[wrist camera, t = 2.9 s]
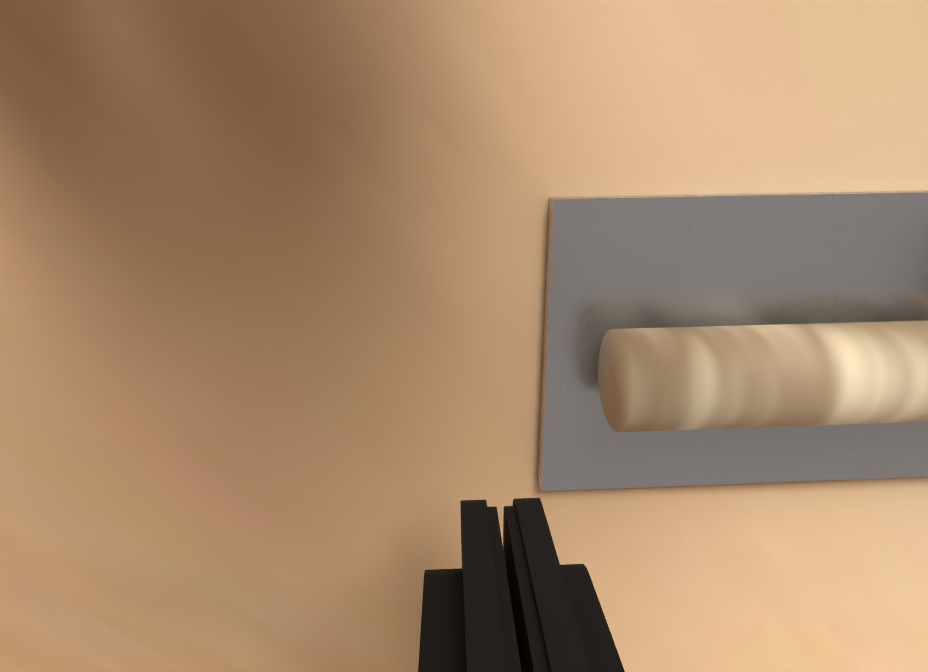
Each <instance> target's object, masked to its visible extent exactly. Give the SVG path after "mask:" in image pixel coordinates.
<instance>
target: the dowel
mask: <svg viewBox="0 0 928 672" xmlns="http://www.w3.org/2000/svg"><path fill="white" fill-rule="evenodd" d="M598 386H599V394H600V400H601V404H602V408H603V412H604V415H605V417H606V420H607V422H608V424H609V425H610V427H611V428H612V429H613V430H614V431H616V432H640V431H669V430H698V429H728V428H757V427H787V426H816V425H846V424H875V423H905V422H928V320H927V321H890V322H853V323H816V324H779V325H742V326H704V327H667V328H630V329H610V330H609V331H607V333H606V334H605V336H604V338H603V340H602V343H601V347H600V351H599V359H598Z"/></svg>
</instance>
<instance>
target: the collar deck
mask: <svg viewBox="0 0 928 672" xmlns="http://www.w3.org/2000/svg"><path fill="white" fill-rule="evenodd" d="M927 320H928V191H904V192H848V193H793V194H737V195H681V196H625V197H570V198H549V220H548V245H547V269H546V293H545V317H544V341H543V365H542V389H541V413H540V437H539V461H538V483H539V486H540V489H541V491H564V490H591V489H617V488H644V487H670V486H697V485H723V484H750V483H776V482H802V481H829V480H855V479H882V478H908V477H928V422H905V423H875V424H846V425H816V426H787V427H757V428H728V429H698V430H669V431H640V432H616V431H614V430H613V429H612V428H611V427H610V425H609V424H608V422H607V420H606V417H605V415H604V412H603V408H602V404H601V400H600V394H599V386H598V359H599V351H600V347H601V343H602V340H603V338H604V336H605V334H606V333H607V331H609V330H610V329H630V328H667V327H704V326H742V325H779V324H816V323H853V322H890V321H927Z"/></svg>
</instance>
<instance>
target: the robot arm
mask: <svg viewBox="0 0 928 672" xmlns="http://www.w3.org/2000/svg"><path fill="white" fill-rule="evenodd" d="M461 546H462V569H439V570H425V573H424V586H423V602H422V619H421V635H420V652H419V668H418V672H625V671H624V668H623V666H622V663H621V660H620V657H619V655H618V652H617V649H616V646H615V644H614V641H613V638H612V636H611V633H610V630H609V627H608V625H607V622H606V619H605V616H604V614H603V611H602V608H601V605H600V603H599V600H598V597H597V594H596V592H595V589H594V586H593V583H592V581H591V578H590V575H589V573H588V570H587V568H586V567H585V565H584V564H571V565H560V564H559V560H558V557H557V554H556V550H555V547H554V543H553V540H552V537H551V533H550V530H549V526H548V523H547V520H546V516H545V513H544V510H543V506H542V503H541V500H540V498H523V499H514V500H513V506H504V524H503V546H502V539H501V533H500V526H499V520H498V513H497V507H487V503H486V500H465V501H461Z"/></svg>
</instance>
